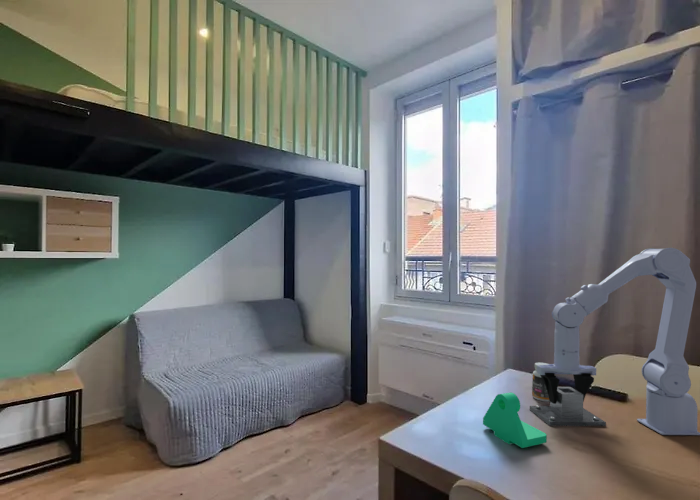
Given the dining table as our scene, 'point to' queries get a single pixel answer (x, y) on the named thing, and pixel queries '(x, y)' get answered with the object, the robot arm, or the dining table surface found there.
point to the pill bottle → (539, 386)
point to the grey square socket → (568, 403)
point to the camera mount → (511, 422)
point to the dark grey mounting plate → (556, 420)
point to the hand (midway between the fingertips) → (566, 402)
